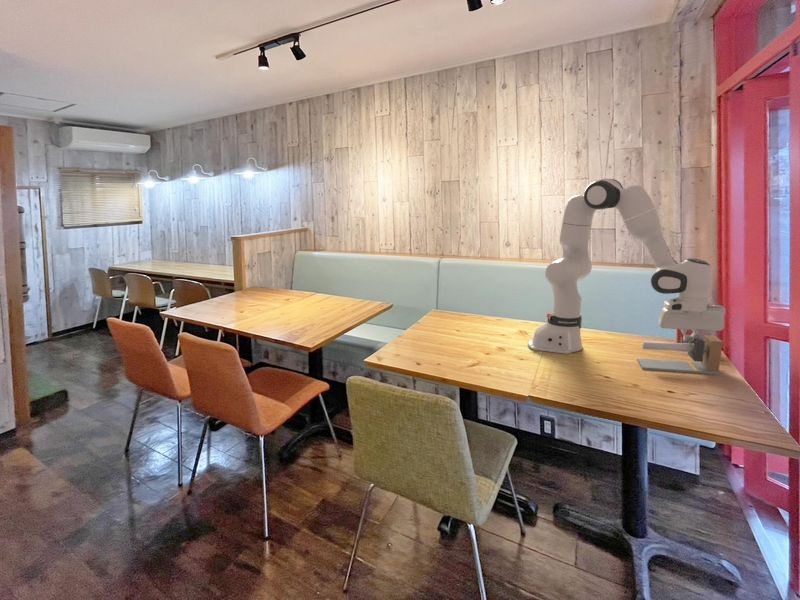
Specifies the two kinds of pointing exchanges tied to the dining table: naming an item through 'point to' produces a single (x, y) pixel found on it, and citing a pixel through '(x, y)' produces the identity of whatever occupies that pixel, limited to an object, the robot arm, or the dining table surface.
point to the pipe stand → (706, 366)
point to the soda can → (680, 336)
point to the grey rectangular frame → (697, 349)
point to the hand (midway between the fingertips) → (688, 340)
